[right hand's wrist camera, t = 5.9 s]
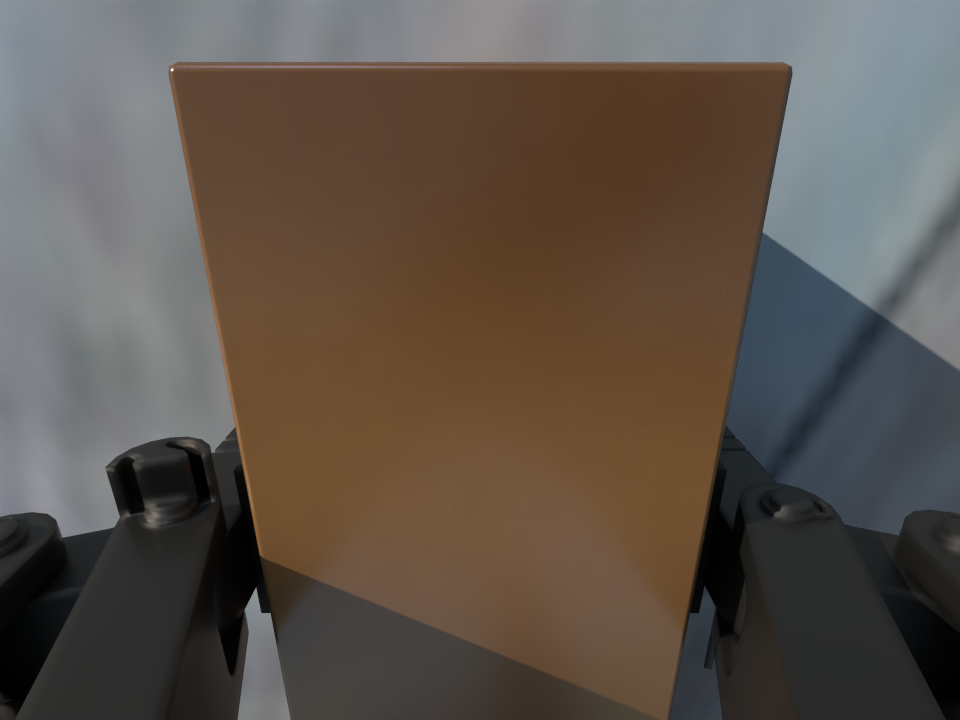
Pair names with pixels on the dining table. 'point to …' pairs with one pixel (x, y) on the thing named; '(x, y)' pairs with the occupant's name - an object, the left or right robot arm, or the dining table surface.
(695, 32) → the dining table surface
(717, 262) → the beam
